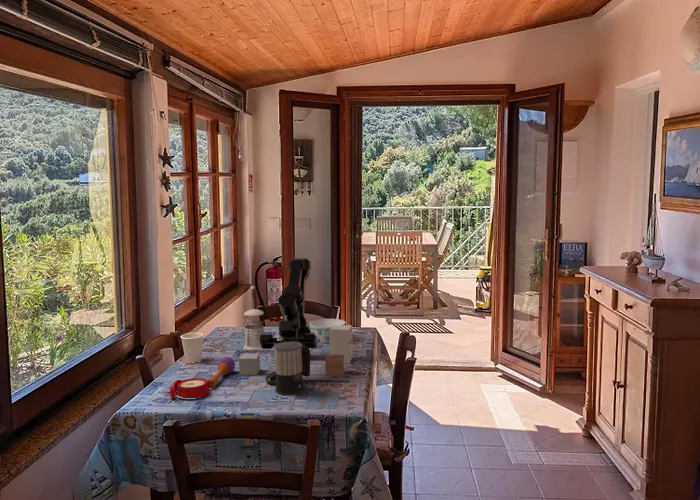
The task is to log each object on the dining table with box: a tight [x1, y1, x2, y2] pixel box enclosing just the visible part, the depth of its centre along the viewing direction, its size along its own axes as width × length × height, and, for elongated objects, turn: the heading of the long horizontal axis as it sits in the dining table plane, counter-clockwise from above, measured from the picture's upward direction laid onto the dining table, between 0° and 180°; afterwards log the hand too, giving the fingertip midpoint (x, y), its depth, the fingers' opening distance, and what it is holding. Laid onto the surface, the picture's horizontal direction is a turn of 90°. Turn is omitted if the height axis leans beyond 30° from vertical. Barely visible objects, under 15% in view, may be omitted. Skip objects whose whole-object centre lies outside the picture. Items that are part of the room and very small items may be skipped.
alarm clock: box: [162, 377, 214, 399], centre depth 194 cm, size 10×6×15 cm
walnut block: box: [324, 353, 345, 377], centre depth 211 cm, size 6×6×6 cm
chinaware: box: [308, 318, 346, 344], centre depth 255 cm, size 15×15×8 cm
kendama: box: [206, 356, 236, 390], centre depth 208 cm, size 6×6×20 cm
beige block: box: [238, 353, 261, 376], centre depth 215 cm, size 6×6×6 cm
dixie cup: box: [180, 332, 204, 363], centre depth 230 cm, size 8×8×10 cm
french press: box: [240, 285, 265, 351], centre depth 248 cm, size 10×12×25 cm
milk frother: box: [265, 342, 311, 395], centre depth 198 cm, size 14×16×15 cm
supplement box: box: [329, 324, 354, 364], centre depth 226 cm, size 7×7×13 cm
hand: (286, 363), depth 201 cm, fingers closed
